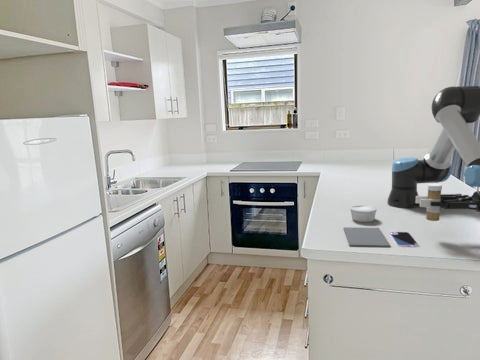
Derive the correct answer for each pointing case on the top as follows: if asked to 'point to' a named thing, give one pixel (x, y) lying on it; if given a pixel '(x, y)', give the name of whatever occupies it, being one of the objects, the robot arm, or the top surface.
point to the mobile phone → (403, 239)
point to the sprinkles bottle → (433, 193)
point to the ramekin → (363, 213)
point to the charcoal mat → (366, 237)
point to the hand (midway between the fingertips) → (418, 201)
